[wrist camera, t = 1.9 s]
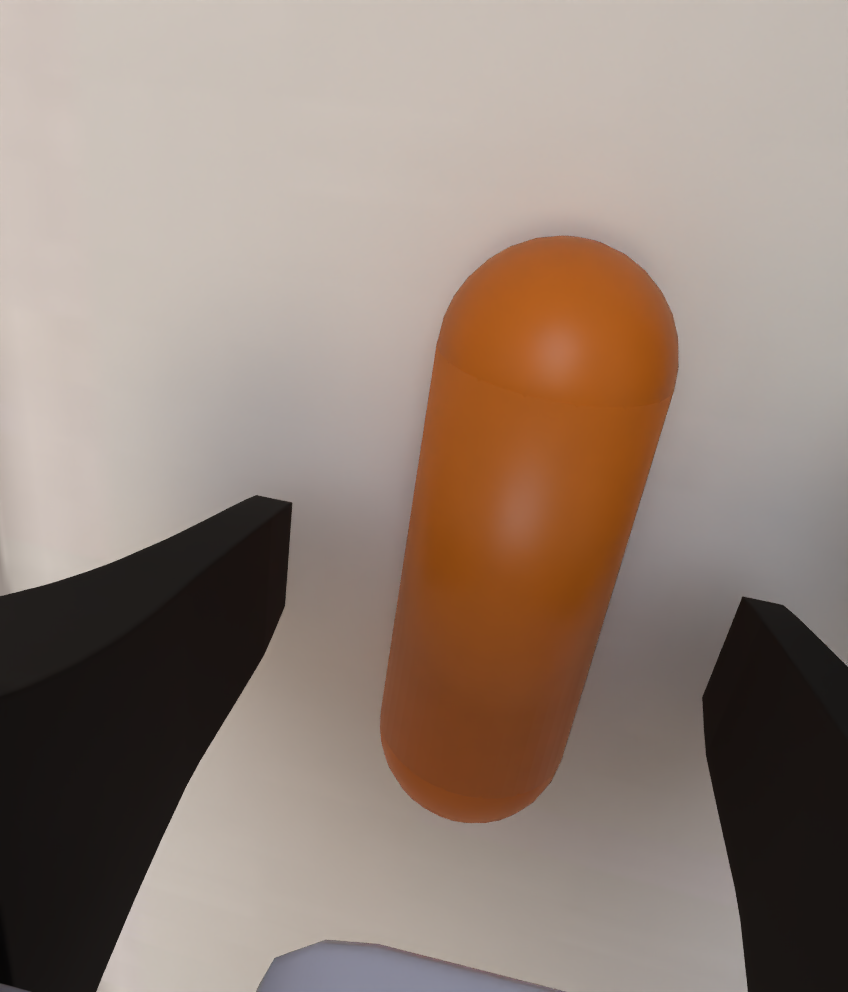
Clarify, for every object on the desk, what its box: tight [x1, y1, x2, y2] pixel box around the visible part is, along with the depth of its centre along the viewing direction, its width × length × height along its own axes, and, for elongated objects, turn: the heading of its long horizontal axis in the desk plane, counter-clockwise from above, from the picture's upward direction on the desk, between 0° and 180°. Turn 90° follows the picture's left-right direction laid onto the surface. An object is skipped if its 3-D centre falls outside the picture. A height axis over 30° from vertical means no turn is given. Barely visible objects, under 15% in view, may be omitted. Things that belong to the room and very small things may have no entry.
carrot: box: [380, 236, 679, 823], centre depth 14 cm, size 11×4×4 cm, turn 172°
